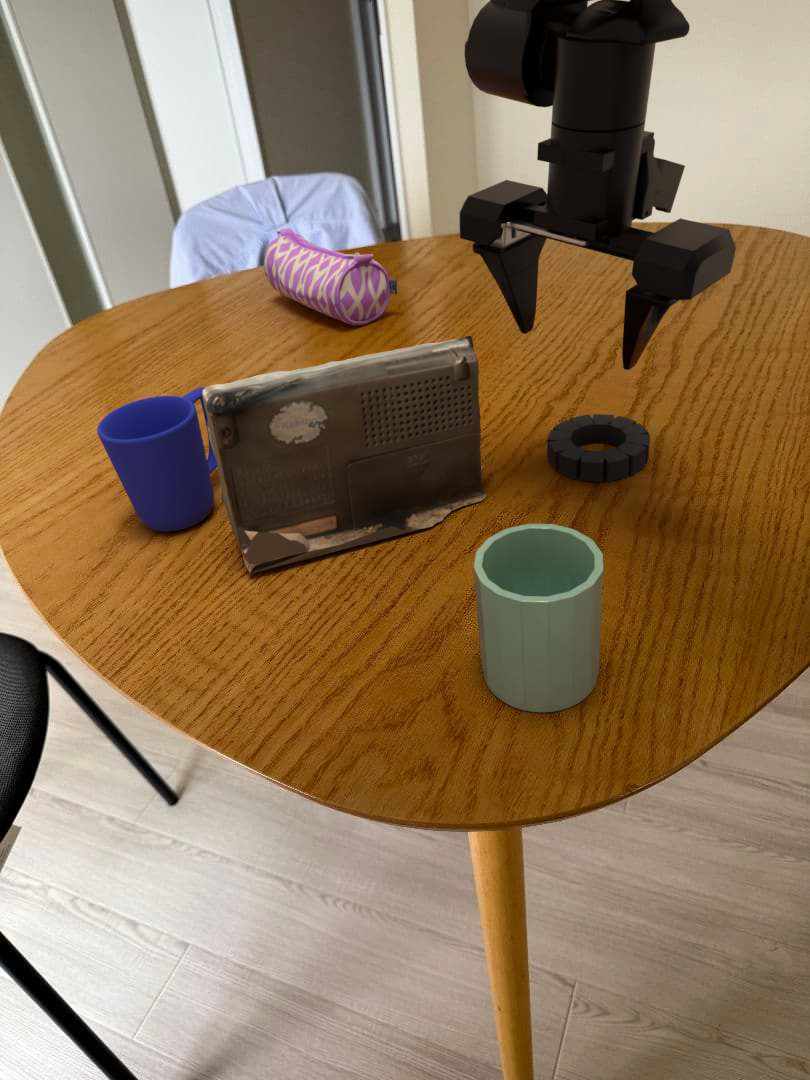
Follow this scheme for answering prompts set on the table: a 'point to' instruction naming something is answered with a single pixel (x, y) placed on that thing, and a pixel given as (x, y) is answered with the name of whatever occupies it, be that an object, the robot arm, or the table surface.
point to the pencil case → (328, 279)
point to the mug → (162, 459)
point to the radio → (347, 450)
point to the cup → (539, 615)
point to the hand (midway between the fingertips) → (576, 348)
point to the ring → (598, 463)
